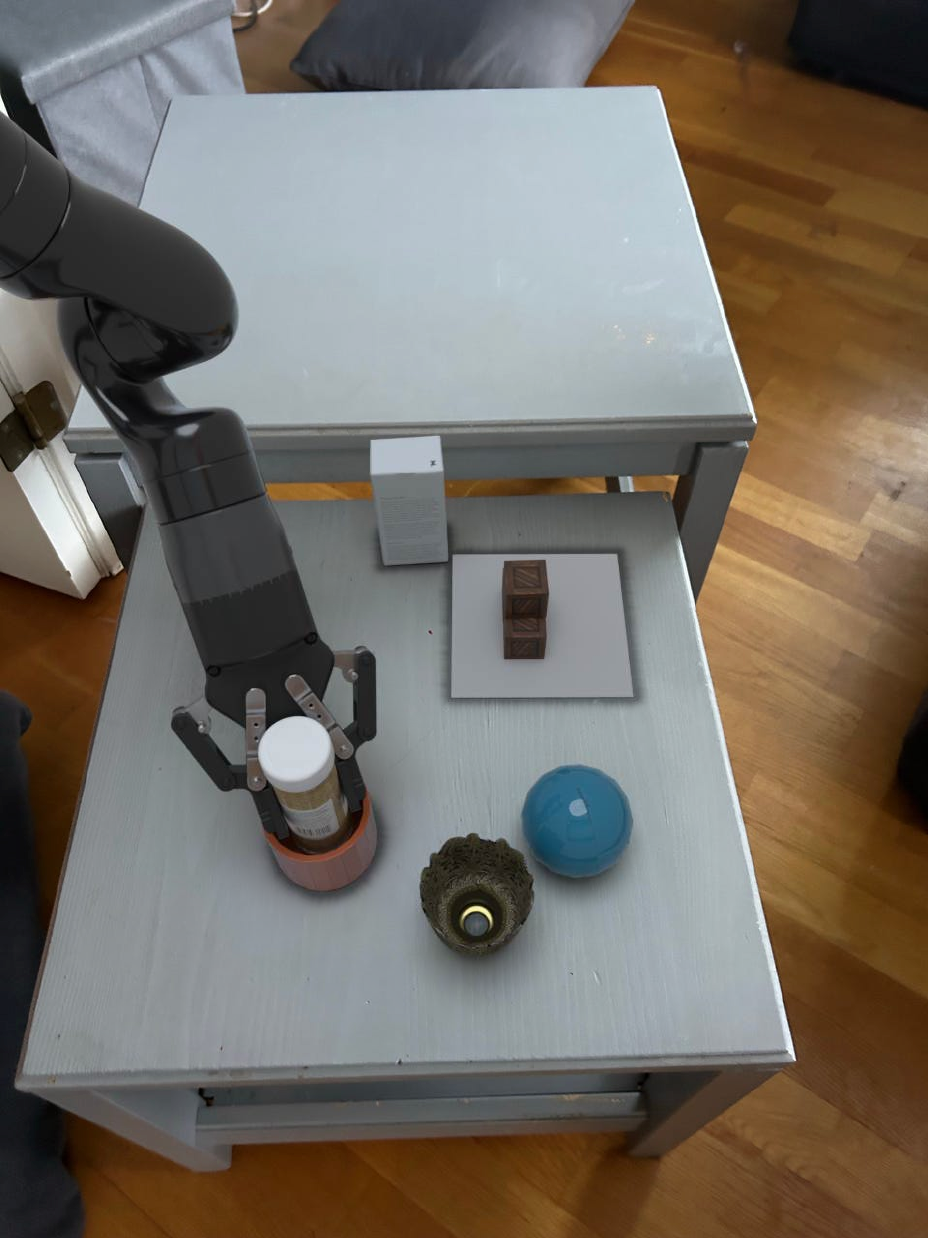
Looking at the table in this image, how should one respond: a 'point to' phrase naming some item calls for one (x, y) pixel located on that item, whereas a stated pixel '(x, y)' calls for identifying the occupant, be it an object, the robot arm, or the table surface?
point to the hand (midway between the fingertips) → (319, 819)
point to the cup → (476, 893)
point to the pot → (329, 854)
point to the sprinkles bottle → (306, 783)
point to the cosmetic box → (409, 499)
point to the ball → (576, 821)
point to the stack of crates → (538, 627)
